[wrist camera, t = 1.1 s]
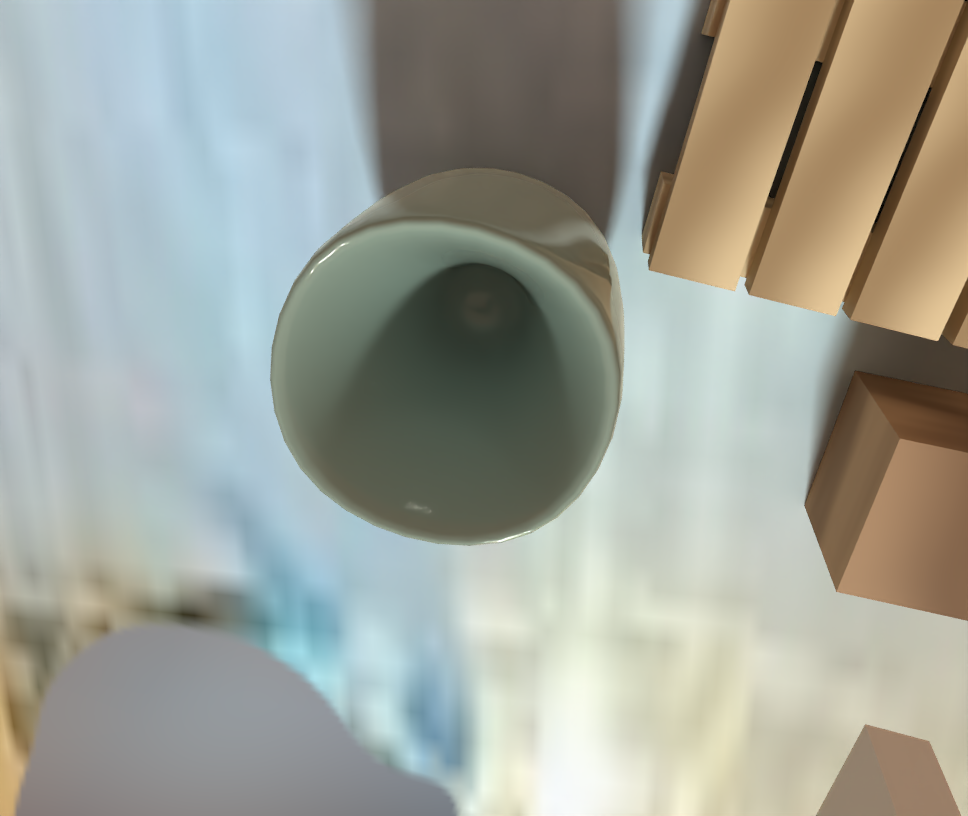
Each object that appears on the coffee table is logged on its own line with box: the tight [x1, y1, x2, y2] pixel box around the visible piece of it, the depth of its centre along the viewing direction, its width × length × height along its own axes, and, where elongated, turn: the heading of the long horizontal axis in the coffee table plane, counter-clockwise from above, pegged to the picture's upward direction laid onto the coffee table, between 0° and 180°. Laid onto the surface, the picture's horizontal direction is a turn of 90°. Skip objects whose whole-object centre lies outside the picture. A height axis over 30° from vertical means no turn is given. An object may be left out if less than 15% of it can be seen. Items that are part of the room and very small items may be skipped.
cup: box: [270, 168, 624, 546], centre depth 23 cm, size 8×8×10 cm
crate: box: [804, 371, 968, 621], centre depth 26 cm, size 5×5×5 cm
